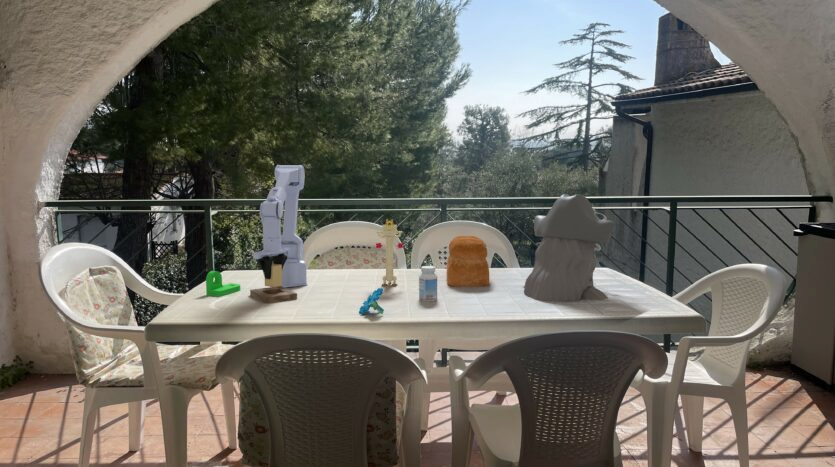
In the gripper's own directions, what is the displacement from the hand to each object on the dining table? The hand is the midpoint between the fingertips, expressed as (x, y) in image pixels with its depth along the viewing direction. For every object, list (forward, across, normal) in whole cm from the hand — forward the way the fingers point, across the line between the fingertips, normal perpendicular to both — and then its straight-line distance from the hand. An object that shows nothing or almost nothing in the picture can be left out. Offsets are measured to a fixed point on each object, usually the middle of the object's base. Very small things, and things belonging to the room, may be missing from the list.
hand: (272, 277), depth 200 cm
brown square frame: (+7, 0, 0) cm, 7 cm away
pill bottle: (+7, -27, +45) cm, 52 cm away
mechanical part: (+7, +4, -20) cm, 21 cm away
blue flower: (+8, -1, +39) cm, 39 cm away
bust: (+7, -61, +79) cm, 100 cm away
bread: (+7, -62, +40) cm, 74 cm away
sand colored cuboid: (+3, 0, 0) cm, 3 cm away
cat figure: (+7, -39, +20) cm, 44 cm away
